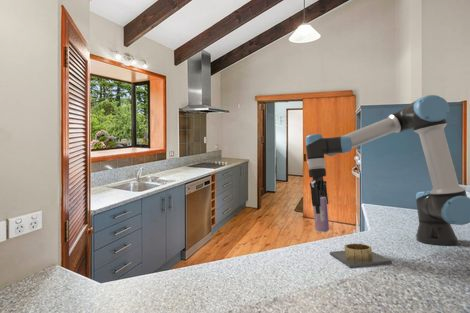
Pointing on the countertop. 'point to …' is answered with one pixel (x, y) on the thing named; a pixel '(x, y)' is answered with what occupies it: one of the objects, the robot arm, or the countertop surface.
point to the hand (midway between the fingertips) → (322, 219)
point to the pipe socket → (359, 256)
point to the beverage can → (322, 225)
